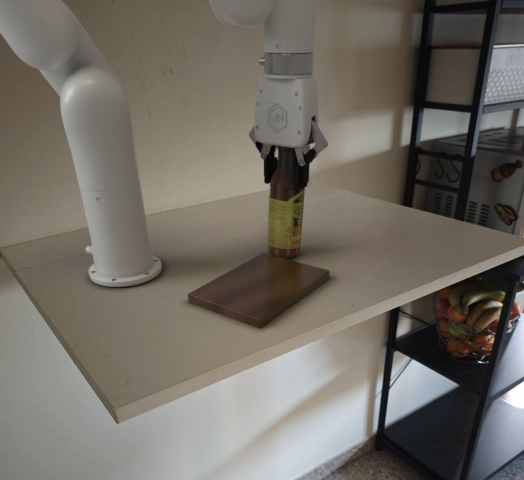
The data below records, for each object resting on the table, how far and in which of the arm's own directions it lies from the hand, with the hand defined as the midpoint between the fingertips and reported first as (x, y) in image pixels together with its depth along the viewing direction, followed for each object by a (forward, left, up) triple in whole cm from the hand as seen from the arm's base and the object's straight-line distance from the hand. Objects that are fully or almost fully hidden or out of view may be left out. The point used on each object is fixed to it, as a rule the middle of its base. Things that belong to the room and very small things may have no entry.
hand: (285, 183), depth 87 cm
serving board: (+5, -15, -13) cm, 20 cm away
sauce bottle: (0, 0, -13) cm, 13 cm away
